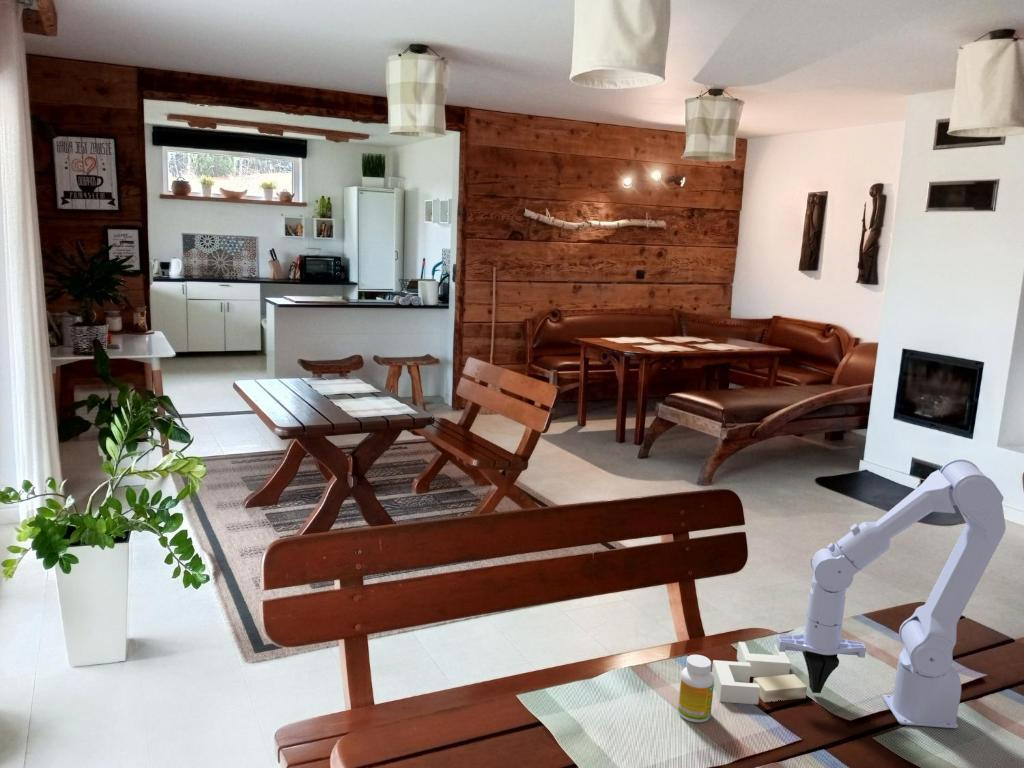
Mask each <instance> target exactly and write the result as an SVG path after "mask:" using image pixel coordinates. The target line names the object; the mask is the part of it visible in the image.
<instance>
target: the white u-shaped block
mask: <svg viewBox="0 0 1024 768" xmlns="http://www.w3.org/2000/svg"><path fill="white" fill-rule="evenodd" d="M776 644H777V643H776ZM776 644H775V643H774V646H773V651H772V652H773V654H765V653H764V654H762V653H750V651H749V648H748V646H747V643H746V642H745V641H738V643H737V650H736V660H737V662H746V663H750V665H751V672H750V678H751V677H752V678H758V677H769V676H779V675H790V670H791V662H790V659H789V658H788V656H787V654H786V651H785V652H779V650H778V648H777V646H776Z"/></svg>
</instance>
